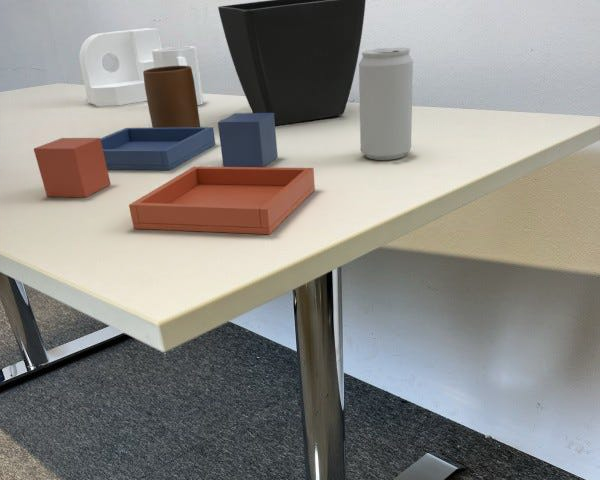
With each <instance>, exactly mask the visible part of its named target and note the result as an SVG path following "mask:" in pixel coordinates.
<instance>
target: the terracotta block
mask: <svg viewBox="0 0 600 480" xmlns="http://www.w3.org/2000/svg"><path fill="white" fill-rule="evenodd" d="M100 138H101V137H60V138H58V139H55V140H53V141H50V142H47V143H44V144H42V145H39V146H37V147H34V148H33V152H34V155H35V158H36V159H35V160H36V162H37V166H38V169H39V174H40V177H41V180H42V184H43V188H44V191H45V195H46V197H51V198H53V197H54V198H58V197H59V198H88V197H89V196H91V195H93V194H95V193H97V192H99V191H101V190H102V189H105V188H107V187H109V186H110V185H111V179H110V175H109V169H107V166H106V162H105V157H104V153H103V148H102V144H101V139H100Z"/></svg>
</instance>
